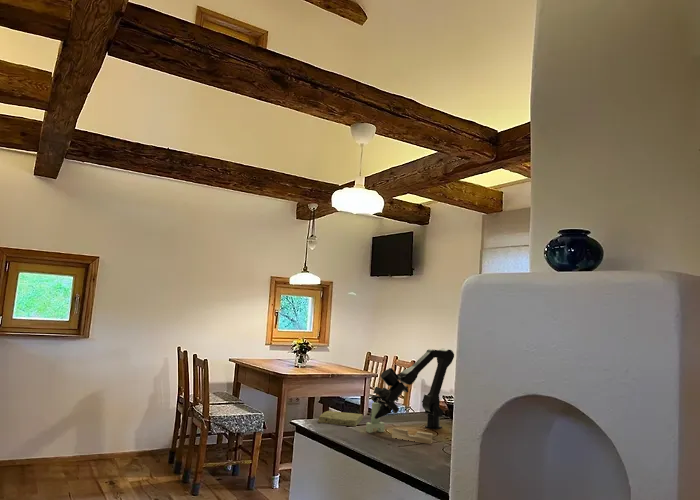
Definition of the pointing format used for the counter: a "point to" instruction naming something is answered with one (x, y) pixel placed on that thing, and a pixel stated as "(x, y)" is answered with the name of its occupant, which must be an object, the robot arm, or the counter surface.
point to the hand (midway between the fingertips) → (373, 417)
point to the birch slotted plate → (412, 436)
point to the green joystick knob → (375, 420)
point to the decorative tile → (340, 418)
